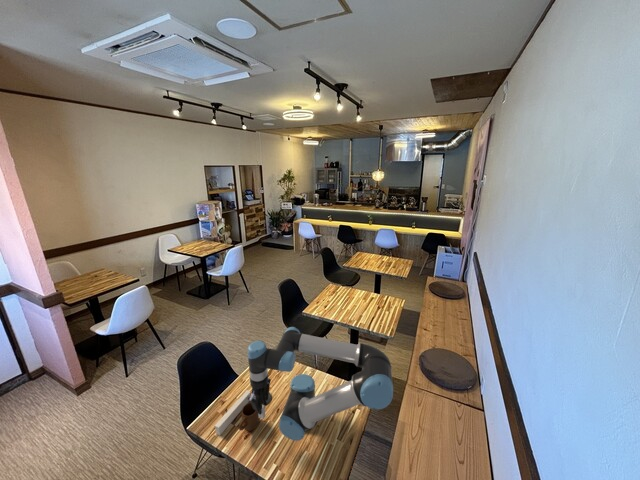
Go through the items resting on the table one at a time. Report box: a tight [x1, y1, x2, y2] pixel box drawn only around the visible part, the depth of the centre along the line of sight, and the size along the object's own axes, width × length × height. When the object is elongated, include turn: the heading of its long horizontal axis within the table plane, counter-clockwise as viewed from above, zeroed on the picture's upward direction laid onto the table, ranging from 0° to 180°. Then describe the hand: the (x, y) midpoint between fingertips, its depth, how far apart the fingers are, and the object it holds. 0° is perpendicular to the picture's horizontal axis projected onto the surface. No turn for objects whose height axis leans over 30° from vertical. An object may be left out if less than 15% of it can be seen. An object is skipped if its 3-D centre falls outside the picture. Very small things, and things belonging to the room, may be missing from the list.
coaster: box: [255, 391, 272, 405], centre depth 140 cm, size 9×9×1 cm
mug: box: [238, 402, 260, 431], centre depth 123 cm, size 12×8×9 cm, turn 160°
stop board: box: [214, 389, 252, 436], centre depth 130 cm, size 2×22×5 cm, turn 153°
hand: (261, 416), depth 117 cm, fingers closed
